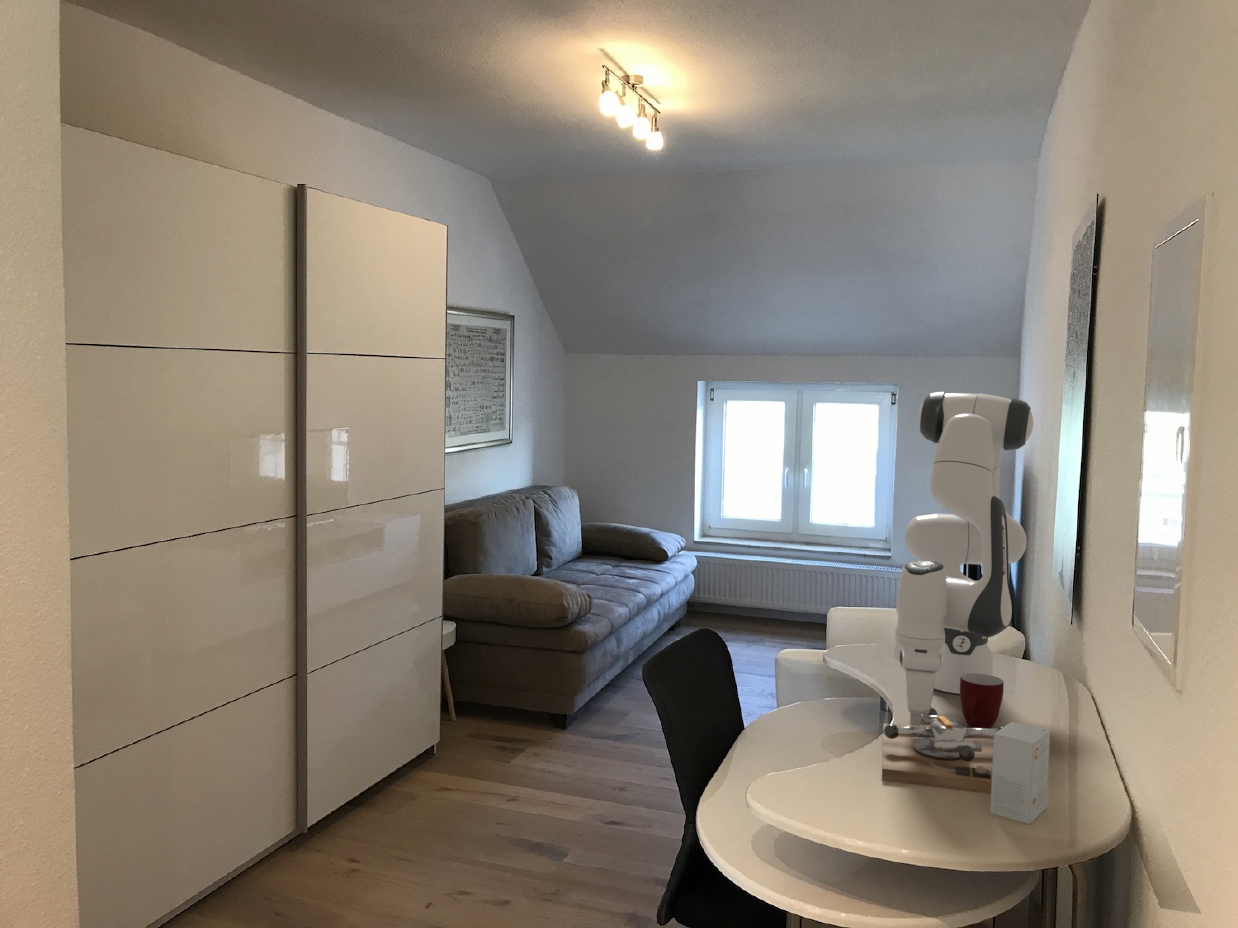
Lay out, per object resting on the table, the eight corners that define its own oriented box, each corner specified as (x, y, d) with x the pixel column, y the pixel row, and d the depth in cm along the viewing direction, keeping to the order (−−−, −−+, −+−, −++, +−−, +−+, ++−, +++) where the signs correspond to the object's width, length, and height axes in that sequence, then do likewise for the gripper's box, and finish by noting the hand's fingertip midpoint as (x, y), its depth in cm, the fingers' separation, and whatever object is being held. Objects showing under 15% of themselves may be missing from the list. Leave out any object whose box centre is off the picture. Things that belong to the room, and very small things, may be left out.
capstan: (986, 730, 189) (987, 704, 188) (1035, 776, 166) (1037, 747, 166) (867, 727, 189) (868, 701, 188) (901, 773, 166) (902, 744, 166)
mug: (993, 742, 188) (996, 691, 188) (950, 733, 193) (952, 683, 192) (1004, 727, 197) (1007, 677, 197) (963, 718, 202) (965, 670, 201)
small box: (1006, 797, 163) (1011, 720, 162) (1047, 809, 159) (1051, 729, 158) (988, 813, 157) (992, 732, 156) (1029, 825, 153) (1034, 742, 152)
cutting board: (883, 733, 192) (883, 715, 192) (1003, 746, 186) (1004, 728, 186) (881, 779, 169) (882, 759, 169) (1019, 796, 163) (1021, 776, 163)
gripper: (899, 636, 192) (895, 706, 193) (902, 661, 173) (898, 739, 173) (933, 639, 191) (929, 710, 192) (940, 664, 171) (936, 743, 172)
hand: (914, 724), depth 182 cm, fingers closed
